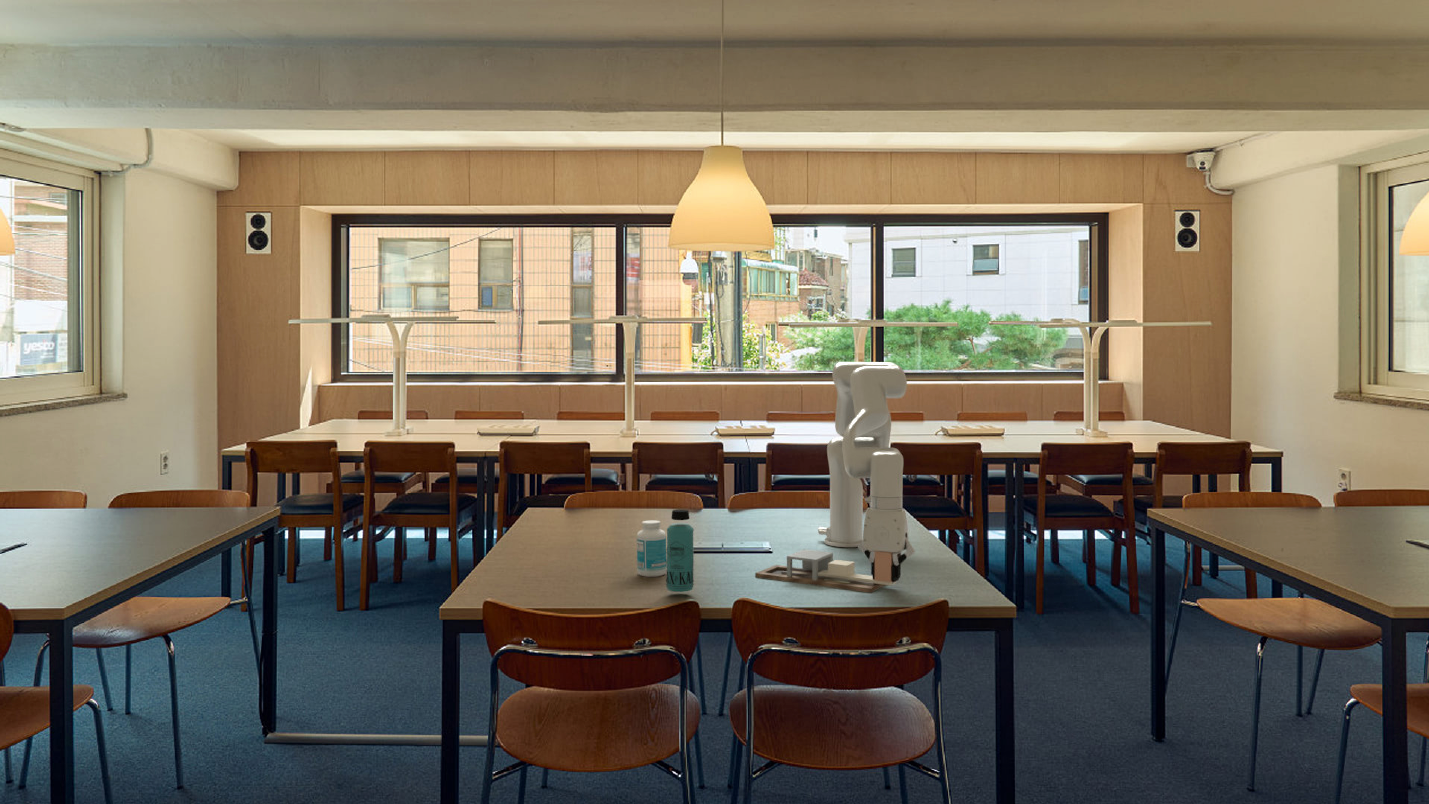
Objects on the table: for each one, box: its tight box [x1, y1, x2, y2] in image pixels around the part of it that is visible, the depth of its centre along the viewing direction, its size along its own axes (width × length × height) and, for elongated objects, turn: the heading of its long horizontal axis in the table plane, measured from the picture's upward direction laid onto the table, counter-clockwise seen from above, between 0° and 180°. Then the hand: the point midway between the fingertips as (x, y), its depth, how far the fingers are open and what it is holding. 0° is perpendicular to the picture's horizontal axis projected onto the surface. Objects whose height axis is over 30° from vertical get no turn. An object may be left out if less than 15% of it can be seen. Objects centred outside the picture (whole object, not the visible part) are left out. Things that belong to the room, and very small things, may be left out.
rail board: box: [754, 564, 885, 594], centre depth 243 cm, size 31×11×2 cm, turn 58°
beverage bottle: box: [665, 508, 695, 593], centre depth 227 cm, size 6×7×20 cm
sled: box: [818, 551, 897, 586], centre depth 237 cm, size 19×5×8 cm, turn 58°
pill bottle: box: [636, 519, 667, 578], centre depth 249 cm, size 8×7×14 cm
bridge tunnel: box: [786, 549, 834, 580], centre depth 244 cm, size 8×10×5 cm
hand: (885, 578), depth 234 cm, fingers closed on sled, 4 cm apart
